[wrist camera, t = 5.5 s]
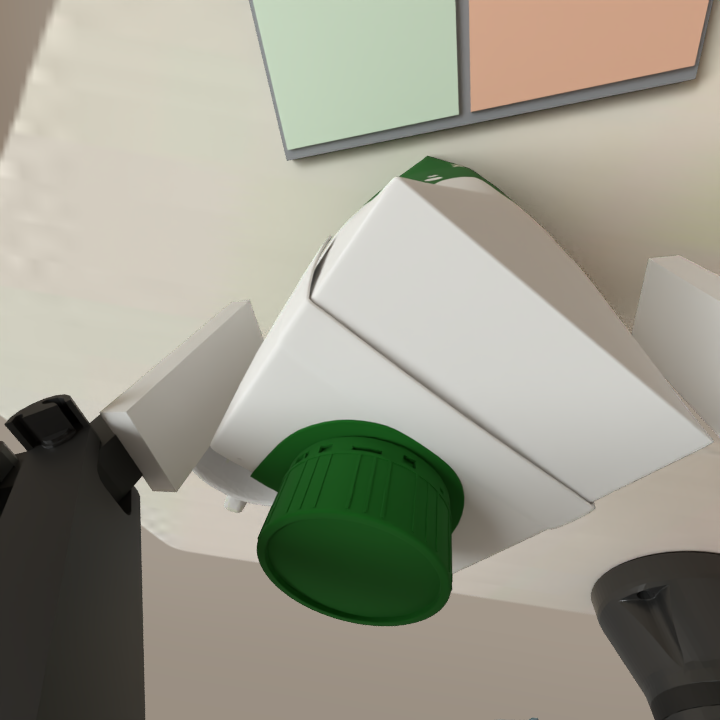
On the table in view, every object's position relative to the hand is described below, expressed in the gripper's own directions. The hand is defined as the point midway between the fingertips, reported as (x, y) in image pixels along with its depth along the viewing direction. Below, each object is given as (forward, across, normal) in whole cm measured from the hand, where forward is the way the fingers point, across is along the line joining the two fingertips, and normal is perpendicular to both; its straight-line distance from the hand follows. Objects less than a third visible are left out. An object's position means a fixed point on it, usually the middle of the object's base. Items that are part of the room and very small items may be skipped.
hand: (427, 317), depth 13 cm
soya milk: (+12, 0, 0) cm, 12 cm away
